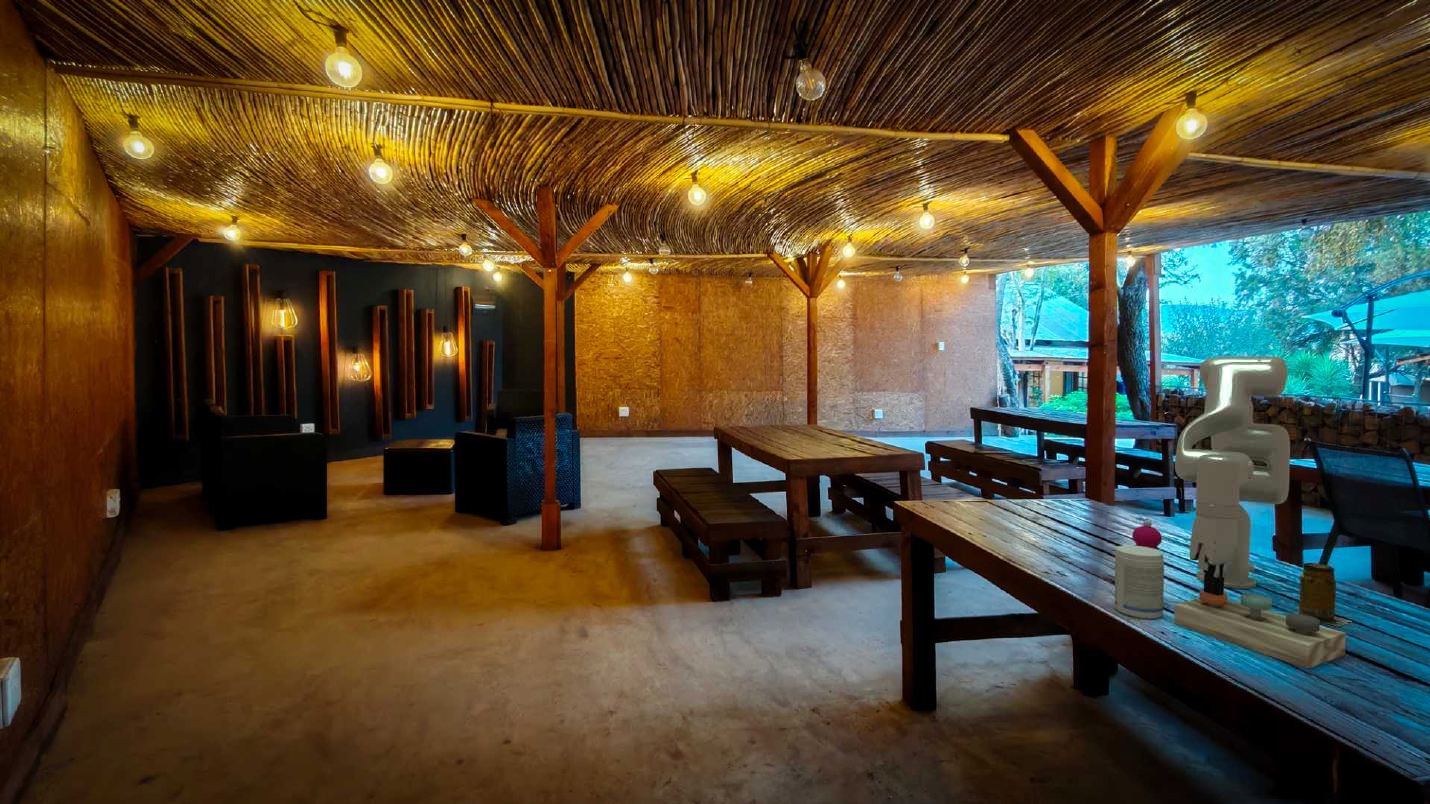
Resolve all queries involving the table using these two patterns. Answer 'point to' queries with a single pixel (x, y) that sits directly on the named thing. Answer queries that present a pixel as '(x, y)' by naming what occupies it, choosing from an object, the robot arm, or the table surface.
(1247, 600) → the button teal
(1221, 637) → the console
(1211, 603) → the button vermilion
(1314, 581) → the condiment
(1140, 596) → the supplement tub
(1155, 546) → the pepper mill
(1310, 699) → the table surface
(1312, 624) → the button charcoal
